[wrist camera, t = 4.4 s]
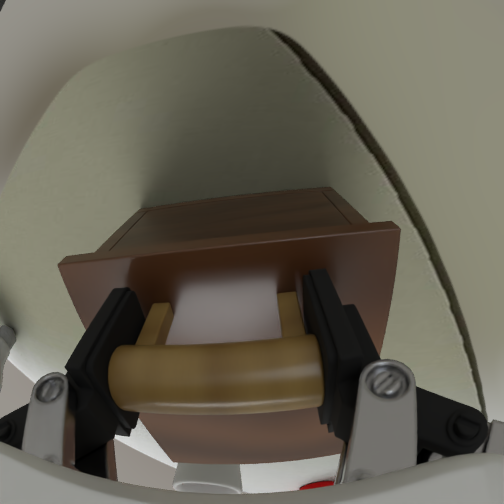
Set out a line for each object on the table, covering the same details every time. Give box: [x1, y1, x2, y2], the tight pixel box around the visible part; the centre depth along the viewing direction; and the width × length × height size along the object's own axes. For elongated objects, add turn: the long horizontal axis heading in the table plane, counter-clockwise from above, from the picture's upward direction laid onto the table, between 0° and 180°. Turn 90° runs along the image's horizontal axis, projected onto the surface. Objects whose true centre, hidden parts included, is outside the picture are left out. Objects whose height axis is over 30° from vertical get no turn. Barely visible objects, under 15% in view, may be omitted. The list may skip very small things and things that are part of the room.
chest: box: [96, 187, 369, 252], centre depth 18 cm, size 16×13×9 cm
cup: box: [173, 463, 242, 494], centre depth 29 cm, size 11×8×8 cm
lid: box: [58, 221, 401, 464], centre depth 11 cm, size 17×13×5 cm
